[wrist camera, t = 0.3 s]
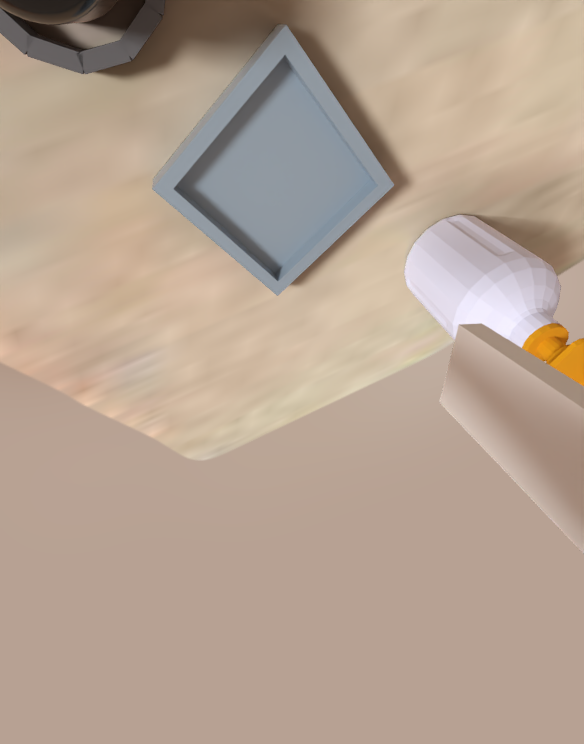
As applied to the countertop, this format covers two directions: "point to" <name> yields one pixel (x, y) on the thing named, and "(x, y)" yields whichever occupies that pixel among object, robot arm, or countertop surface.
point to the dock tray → (274, 166)
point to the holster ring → (75, 57)
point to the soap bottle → (491, 289)
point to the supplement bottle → (57, 10)
